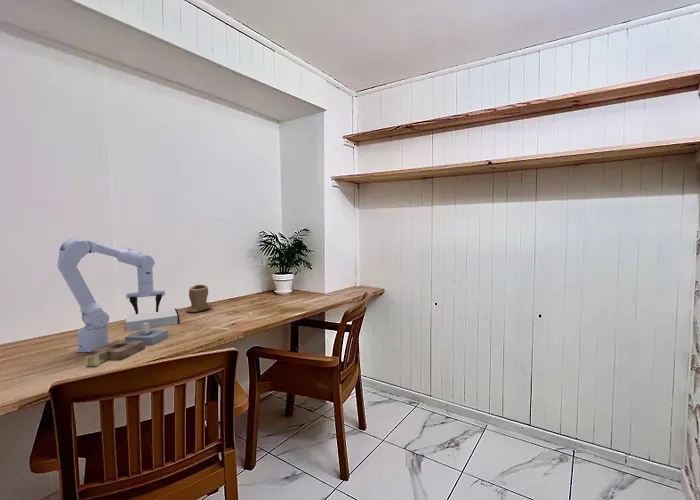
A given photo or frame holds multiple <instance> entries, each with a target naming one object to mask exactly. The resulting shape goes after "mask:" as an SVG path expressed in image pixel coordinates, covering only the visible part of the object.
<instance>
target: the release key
mask: <svg viewBox="0 0 700 500" xmlns="http://www.w3.org/2000/svg"><path fill="white" fill-rule="evenodd" d="M108 359H109V356H108V351H101V352H98V353H96V354H94V355H87V356H85V366H86V367H97V366H99V365H100V364H102V363H103V362H105V361H109V360H108Z"/></svg>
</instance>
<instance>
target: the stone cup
mask: <svg viewBox="0 0 700 500" xmlns="http://www.w3.org/2000/svg"><path fill="white" fill-rule="evenodd" d="M208 296H209V288H208V286H207V285H206V284H195V285H193V286H191V287H189V289H188V298H189V301H190V304H191V306H188V307H186V308H185V309H184V311H186V312H189V313H197V312H202V311H204V310H208V309H210V308H213V307H214V306H213V304H212V303H211V302H210V301H208Z"/></svg>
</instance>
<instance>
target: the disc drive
mask: <svg viewBox="0 0 700 500" xmlns="http://www.w3.org/2000/svg"><path fill="white" fill-rule="evenodd" d="M142 322H149V323H150V329H152V328H158V327H159V326H160V327H165V326H166V325H167V326H172V325H173V326H174V325H179V324H180V314H179V311H178V309H177V308H176V307H174V308H171V309H163V310H158V312H156V310H155V311H146V312H138V314H136V313H131V314H130V313H129V314H126V318H125V331H126V332H130V331H135V330H136V331H137V330H139V331H140V330H142V329H141V323H142Z"/></svg>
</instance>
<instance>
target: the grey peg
mask: <svg viewBox="0 0 700 500" xmlns="http://www.w3.org/2000/svg"><path fill="white" fill-rule="evenodd" d="M140 330H142V335H150V330H151V328H150V323H149V322H142V323H141V329H140Z"/></svg>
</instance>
